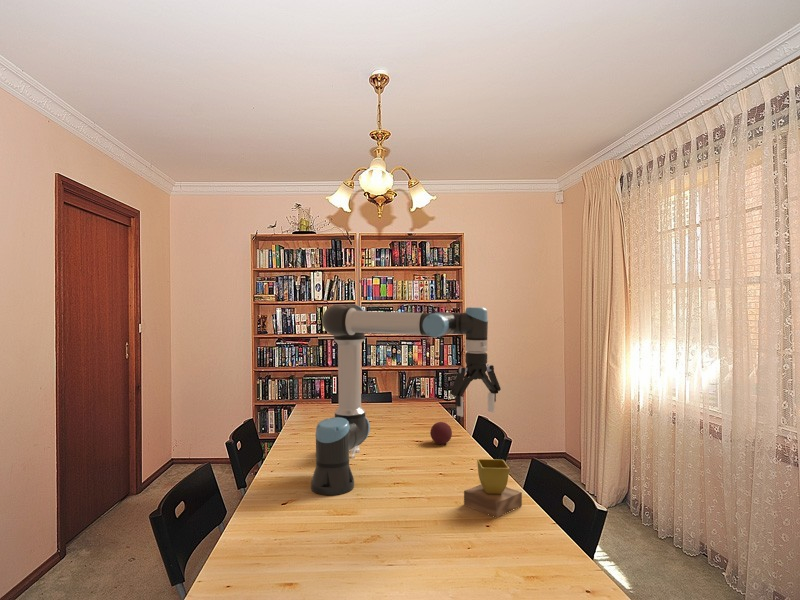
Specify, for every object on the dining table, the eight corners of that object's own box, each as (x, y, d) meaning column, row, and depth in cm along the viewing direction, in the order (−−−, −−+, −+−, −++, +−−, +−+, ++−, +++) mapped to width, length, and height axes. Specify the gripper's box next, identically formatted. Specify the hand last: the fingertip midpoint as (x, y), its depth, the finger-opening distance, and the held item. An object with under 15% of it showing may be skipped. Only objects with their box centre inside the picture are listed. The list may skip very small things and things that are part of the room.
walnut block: (496, 519, 151) (496, 503, 151) (464, 506, 161) (464, 490, 161) (521, 508, 159) (521, 492, 159) (489, 496, 169) (489, 481, 169)
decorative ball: (428, 446, 226) (428, 424, 227) (432, 440, 236) (432, 419, 236) (450, 447, 224) (450, 425, 224) (453, 441, 234) (453, 420, 234)
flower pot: (503, 486, 165) (503, 459, 165) (509, 496, 156) (509, 468, 156) (476, 486, 164) (476, 459, 164) (481, 496, 156) (481, 467, 156)
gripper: (453, 354, 162) (453, 420, 162) (511, 351, 174) (510, 412, 174) (440, 352, 168) (439, 415, 168) (496, 349, 181) (496, 407, 181)
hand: (475, 413), depth 171 cm, fingers open, 13 cm apart
